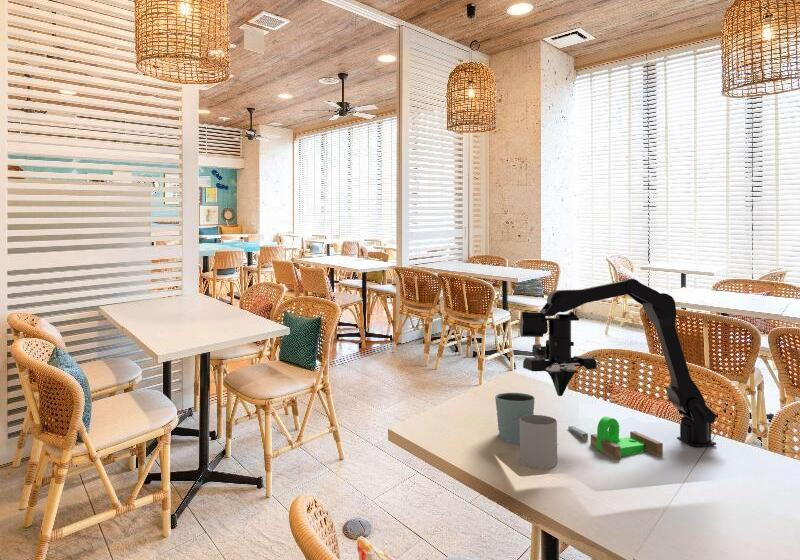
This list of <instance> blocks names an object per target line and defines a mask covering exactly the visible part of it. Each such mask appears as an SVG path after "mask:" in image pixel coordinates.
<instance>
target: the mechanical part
mask: <svg viewBox="0 0 800 560" xmlns="http://www.w3.org/2000/svg"><path fill="white" fill-rule="evenodd" d="M596 430H597V431H596V434H597V448H595V449H596V450H597V451H599V450H600V451H602V448H601V440H603V441H604V440H609V441H611V442H613V443H615V444H617V445H619V446H621V457H625V456H626V457H627V456H630V455H631V456H632V455H635V454H640V453H643V452H645V450H644V448H645V444H644V443H642V442H640V441H638V440H635V439H633V438H631V437H630V436H629V437H628V436H627V437H620V425H619V422H618V420H617V419H615V418H612V417H609V416H603V417H602V418H600V420H599V421H598V424H597V429H596ZM600 439H601V440H600ZM600 451H599V452H600Z"/></svg>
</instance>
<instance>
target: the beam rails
mask: <svg viewBox="0 0 800 560" xmlns="http://www.w3.org/2000/svg"><path fill="white" fill-rule="evenodd" d="M629 433H630V434H629V437H631V438H633V439H635V440H638V441H640V442H642V443H644V444H645V448H644V451H646V452H648V453H650V454H653V455H654V456H658V457H663V456H664V455H663V453H664V451H663V449H664V447H663V446H664V445H663V442H661V441H658V440H657V439H653V438H652V437H649V436H646V435H645V434H642V433H641V432H638V431H632V430H631V431H629ZM600 440H601V439H600ZM590 445H591V446H593V447H594V448H595V449H596V448H597V433H593V434H592V433H591V434H590ZM601 448H602V451H600V450H598V451H599V452H601V453H603V454H605V455H606V456H608V457H610V458H612V459H613V460H615V461H616V460H621V459H622V458H621V457H622V456H621V446H619V445H617V444H615V443H613V442H611V441H609V440H604V441H603V440H601Z"/></svg>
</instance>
